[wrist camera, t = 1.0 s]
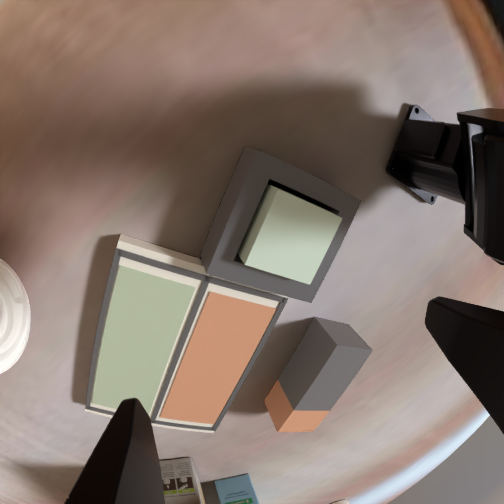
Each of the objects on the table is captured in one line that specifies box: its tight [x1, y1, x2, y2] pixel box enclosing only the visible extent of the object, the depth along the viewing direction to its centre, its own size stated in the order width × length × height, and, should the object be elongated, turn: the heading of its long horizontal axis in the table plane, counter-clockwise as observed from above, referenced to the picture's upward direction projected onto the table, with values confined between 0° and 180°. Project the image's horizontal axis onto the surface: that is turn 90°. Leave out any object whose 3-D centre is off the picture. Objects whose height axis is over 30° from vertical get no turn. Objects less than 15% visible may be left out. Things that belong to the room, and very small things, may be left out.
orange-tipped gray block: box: [264, 317, 372, 432], centre depth 25 cm, size 4×10×4 cm, turn 156°
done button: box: [237, 183, 342, 285], centre depth 18 cm, size 4×4×2 cm
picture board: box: [85, 234, 288, 433], centre depth 22 cm, size 12×16×1 cm
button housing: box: [200, 147, 361, 303], centre depth 19 cm, size 7×7×3 cm
